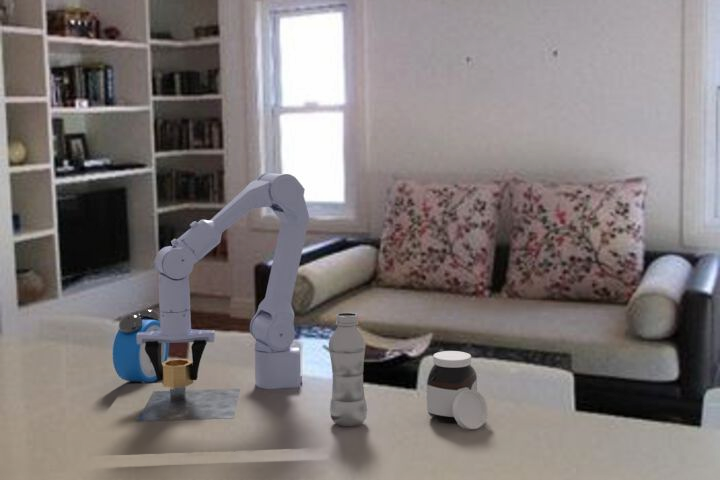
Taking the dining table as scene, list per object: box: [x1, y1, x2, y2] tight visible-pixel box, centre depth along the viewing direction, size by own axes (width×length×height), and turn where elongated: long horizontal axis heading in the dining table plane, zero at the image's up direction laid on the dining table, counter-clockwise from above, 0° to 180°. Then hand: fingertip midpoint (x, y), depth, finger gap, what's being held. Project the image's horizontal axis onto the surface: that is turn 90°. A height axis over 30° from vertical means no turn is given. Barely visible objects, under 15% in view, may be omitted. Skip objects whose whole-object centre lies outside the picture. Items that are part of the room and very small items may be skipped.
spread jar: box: [426, 350, 489, 430], centre depth 156 cm, size 12×11×12 cm
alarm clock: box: [112, 307, 170, 384], centre depth 183 cm, size 13×6×15 cm, turn 162°
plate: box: [136, 386, 241, 422], centre depth 163 cm, size 17×18×6 cm
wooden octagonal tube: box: [161, 358, 194, 388], centre depth 166 cm, size 6×6×4 cm
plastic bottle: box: [328, 312, 368, 427], centre depth 154 cm, size 6×7×20 cm
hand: (177, 379), depth 166 cm, fingers closed on wooden octagonal tube, 6 cm apart
